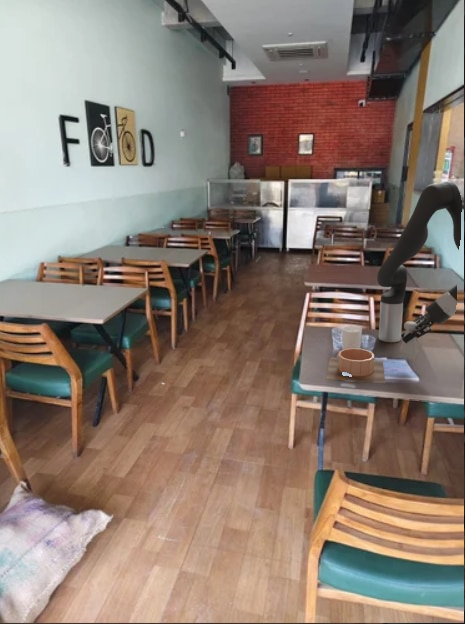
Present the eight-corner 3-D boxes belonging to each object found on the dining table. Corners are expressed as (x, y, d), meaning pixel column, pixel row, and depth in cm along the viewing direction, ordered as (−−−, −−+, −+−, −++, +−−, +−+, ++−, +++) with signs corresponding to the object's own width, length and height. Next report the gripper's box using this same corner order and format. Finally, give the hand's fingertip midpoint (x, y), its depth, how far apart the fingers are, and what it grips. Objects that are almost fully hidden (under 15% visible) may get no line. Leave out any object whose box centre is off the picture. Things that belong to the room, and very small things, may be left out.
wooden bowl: (339, 361, 166) (339, 347, 165) (373, 364, 163) (373, 349, 161) (337, 375, 155) (337, 359, 153) (373, 378, 151) (374, 362, 150)
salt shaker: (418, 360, 151) (421, 325, 147) (401, 359, 152) (403, 325, 148) (415, 353, 156) (417, 319, 153) (398, 353, 158) (400, 319, 154)
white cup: (342, 355, 175) (343, 332, 172) (340, 348, 182) (340, 326, 180) (362, 355, 174) (363, 332, 171) (359, 348, 181) (360, 325, 178)
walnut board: (329, 359, 171) (330, 357, 171) (382, 362, 165) (382, 361, 165) (326, 380, 153) (326, 378, 152) (385, 385, 147) (385, 383, 147)
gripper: (433, 294, 153) (394, 325, 159) (439, 306, 140) (397, 339, 147) (447, 309, 153) (408, 339, 160) (455, 322, 140) (412, 354, 147)
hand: (403, 339), depth 153 cm, fingers closed on salt shaker, 3 cm apart
